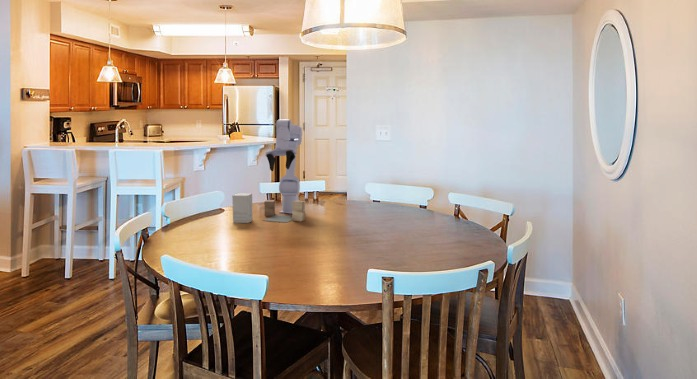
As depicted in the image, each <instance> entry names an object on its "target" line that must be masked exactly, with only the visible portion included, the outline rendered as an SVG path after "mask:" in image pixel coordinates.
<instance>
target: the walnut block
mask: <svg viewBox="0 0 697 379" xmlns="http://www.w3.org/2000/svg"><path fill="white" fill-rule="evenodd" d="M275 202H276V200H275V199H265V200H264V217H269V216H270V217H272V216H275V215H276V203H275Z"/></svg>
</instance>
